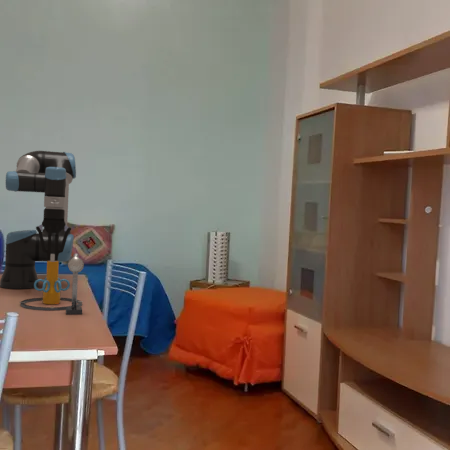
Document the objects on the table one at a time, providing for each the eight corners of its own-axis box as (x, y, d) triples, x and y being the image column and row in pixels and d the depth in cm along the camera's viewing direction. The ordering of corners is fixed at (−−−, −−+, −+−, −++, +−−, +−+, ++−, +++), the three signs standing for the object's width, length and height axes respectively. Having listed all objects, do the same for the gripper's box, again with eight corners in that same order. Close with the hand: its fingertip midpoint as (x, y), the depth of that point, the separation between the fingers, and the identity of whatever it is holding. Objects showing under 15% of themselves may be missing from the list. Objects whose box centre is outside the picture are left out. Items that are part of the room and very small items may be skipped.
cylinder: (56, 307, 194) (58, 263, 194) (28, 304, 196) (30, 261, 196) (73, 301, 206) (74, 260, 206) (46, 299, 208) (48, 258, 208)
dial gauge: (65, 309, 191) (67, 251, 191) (80, 309, 193) (82, 252, 192) (66, 314, 183) (68, 254, 182) (82, 314, 185) (84, 254, 184)
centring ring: (20, 299, 205) (20, 296, 205) (81, 299, 212) (81, 296, 212) (17, 311, 185) (17, 307, 185) (85, 310, 192) (85, 307, 192)
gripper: (35, 207, 207) (33, 272, 207) (72, 209, 211) (70, 272, 211) (36, 207, 214) (33, 269, 215) (71, 209, 218) (69, 270, 219)
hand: (51, 271), depth 213 cm, fingers closed
